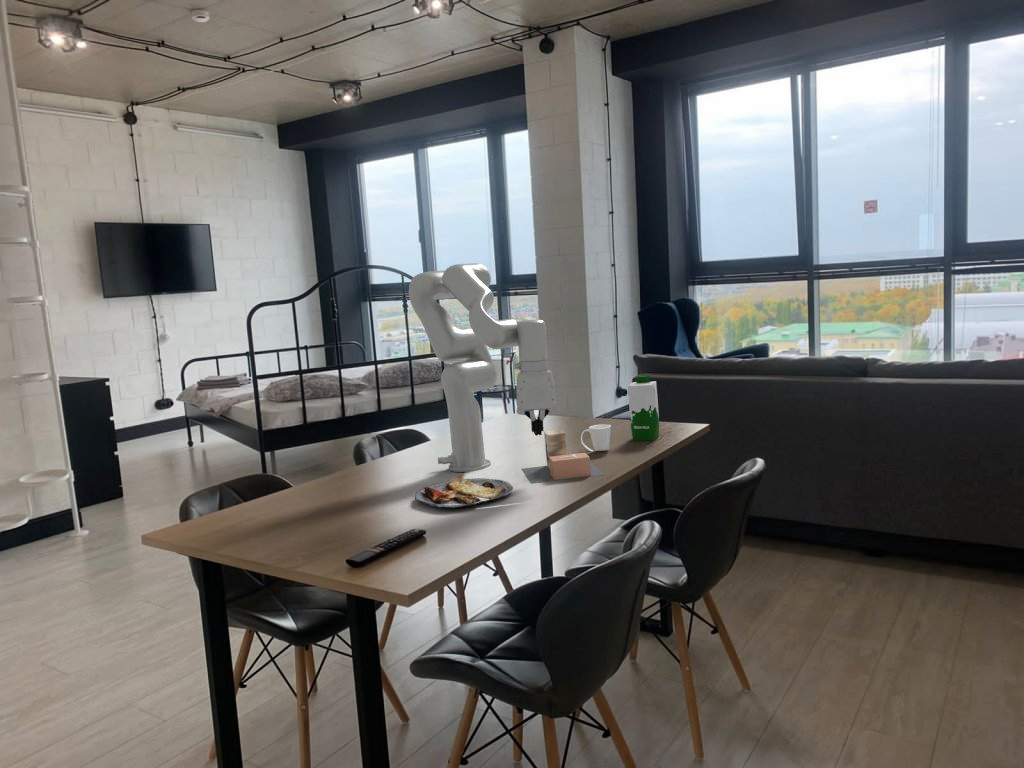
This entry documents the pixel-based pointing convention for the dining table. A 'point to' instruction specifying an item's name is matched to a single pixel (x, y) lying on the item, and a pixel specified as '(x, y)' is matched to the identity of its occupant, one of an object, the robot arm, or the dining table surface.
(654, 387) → the milk carton
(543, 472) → the rubber mat
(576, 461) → the terracotta block
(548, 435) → the beech block
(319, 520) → the dining table surface
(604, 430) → the cup
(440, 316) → the robot arm
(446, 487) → the food plate
